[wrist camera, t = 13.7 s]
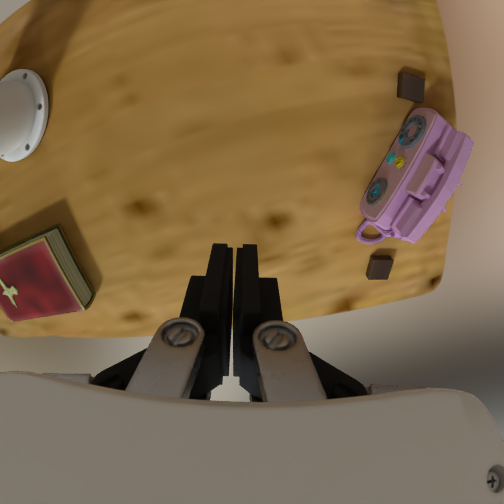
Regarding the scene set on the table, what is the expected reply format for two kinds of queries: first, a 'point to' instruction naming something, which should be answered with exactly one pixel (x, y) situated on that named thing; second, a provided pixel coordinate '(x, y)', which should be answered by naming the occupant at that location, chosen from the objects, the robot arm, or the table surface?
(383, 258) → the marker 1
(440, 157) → the toy telephone
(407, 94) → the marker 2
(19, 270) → the hardcover book
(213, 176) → the table surface
